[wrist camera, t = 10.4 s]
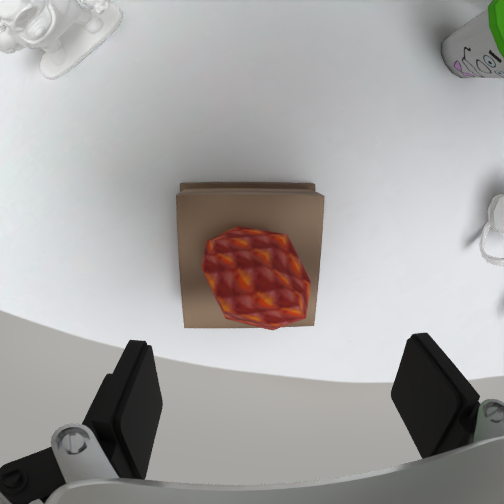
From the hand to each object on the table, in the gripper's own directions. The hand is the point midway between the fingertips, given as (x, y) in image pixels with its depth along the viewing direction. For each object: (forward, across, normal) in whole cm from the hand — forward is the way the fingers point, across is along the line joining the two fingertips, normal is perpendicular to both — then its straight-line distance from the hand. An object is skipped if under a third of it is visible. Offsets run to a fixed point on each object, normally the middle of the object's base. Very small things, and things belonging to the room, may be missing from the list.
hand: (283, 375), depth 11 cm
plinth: (+18, +1, +1) cm, 18 cm away
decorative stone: (+13, +1, 0) cm, 13 cm away
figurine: (+18, +16, -18) cm, 30 cm away
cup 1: (+19, -20, -19) cm, 34 cm away
